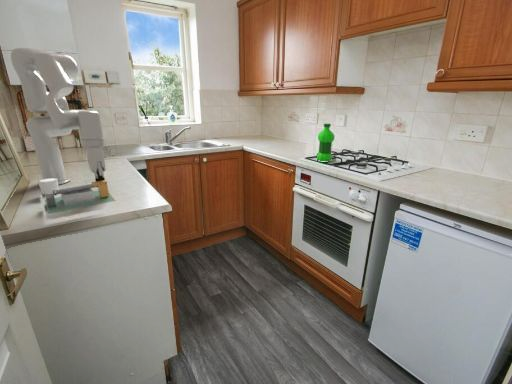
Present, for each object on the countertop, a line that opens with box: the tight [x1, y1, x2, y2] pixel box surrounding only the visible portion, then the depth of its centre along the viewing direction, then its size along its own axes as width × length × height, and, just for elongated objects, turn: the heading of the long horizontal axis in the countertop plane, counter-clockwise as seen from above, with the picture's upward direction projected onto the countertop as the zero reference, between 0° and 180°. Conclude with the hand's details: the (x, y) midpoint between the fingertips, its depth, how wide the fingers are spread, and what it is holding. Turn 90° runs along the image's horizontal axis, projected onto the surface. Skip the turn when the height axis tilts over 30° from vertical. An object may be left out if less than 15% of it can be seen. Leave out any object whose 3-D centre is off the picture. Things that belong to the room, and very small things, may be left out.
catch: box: [90, 180, 110, 198], centre depth 113 cm, size 3×5×6 cm, turn 128°
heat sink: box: [44, 188, 95, 208], centre depth 108 cm, size 10×15×4 cm, turn 128°
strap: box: [52, 183, 97, 196], centre depth 109 cm, size 15×4×1 cm, turn 128°
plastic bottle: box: [316, 123, 335, 162], centre depth 182 cm, size 10×10×25 cm
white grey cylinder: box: [37, 178, 60, 195], centre depth 119 cm, size 7×7×7 cm
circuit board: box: [44, 190, 116, 215], centre depth 111 cm, size 18×22×2 cm
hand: (101, 186), depth 117 cm, fingers closed
